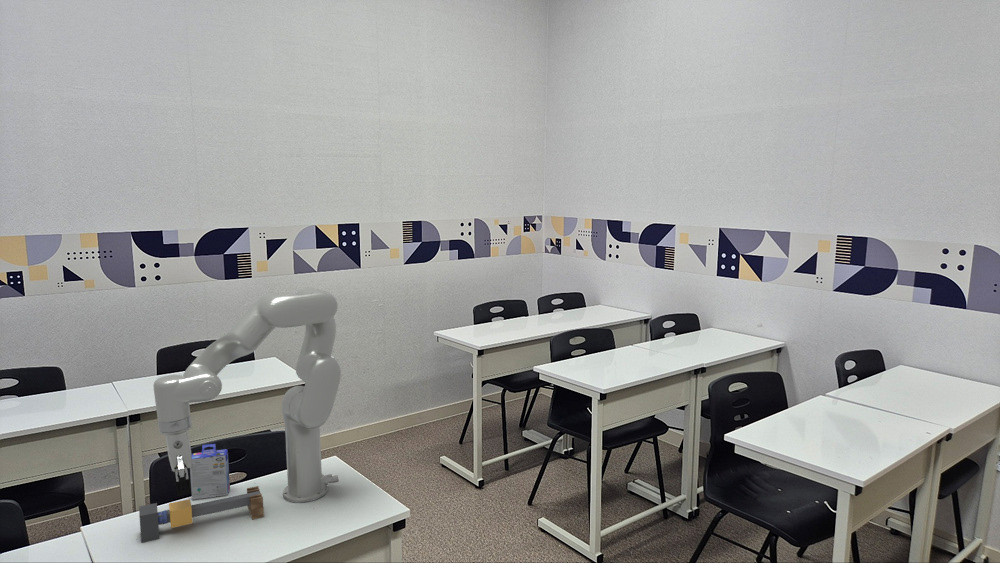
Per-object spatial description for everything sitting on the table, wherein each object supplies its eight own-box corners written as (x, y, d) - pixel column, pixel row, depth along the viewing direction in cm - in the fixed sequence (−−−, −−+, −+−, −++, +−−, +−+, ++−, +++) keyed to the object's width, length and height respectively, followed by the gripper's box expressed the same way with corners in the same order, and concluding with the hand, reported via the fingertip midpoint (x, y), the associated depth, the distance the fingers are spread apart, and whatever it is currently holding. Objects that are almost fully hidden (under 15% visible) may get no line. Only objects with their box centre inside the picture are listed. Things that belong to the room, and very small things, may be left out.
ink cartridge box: (230, 487, 193) (227, 440, 192) (228, 495, 188) (226, 447, 186) (194, 492, 191) (191, 444, 189) (191, 500, 185) (188, 451, 183)
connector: (164, 527, 170) (162, 501, 169) (164, 537, 165) (162, 511, 164) (141, 532, 168) (139, 506, 167) (141, 542, 163) (139, 516, 162)
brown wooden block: (259, 504, 183) (258, 485, 182) (264, 517, 175) (263, 497, 175) (247, 506, 181) (246, 488, 181) (252, 519, 174) (251, 500, 173)
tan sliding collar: (191, 515, 173) (190, 499, 172) (192, 523, 168) (191, 506, 168) (170, 519, 170) (168, 503, 170) (171, 528, 166) (169, 511, 165)
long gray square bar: (260, 500, 180) (259, 488, 180) (262, 504, 177) (261, 493, 177) (149, 523, 167) (148, 511, 167) (149, 529, 164) (148, 517, 164)
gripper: (193, 431, 160) (201, 496, 163) (188, 411, 175) (196, 471, 178) (159, 438, 157) (168, 504, 159) (157, 417, 172) (165, 478, 174)
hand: (183, 486), depth 169 cm, fingers open, 9 cm apart
